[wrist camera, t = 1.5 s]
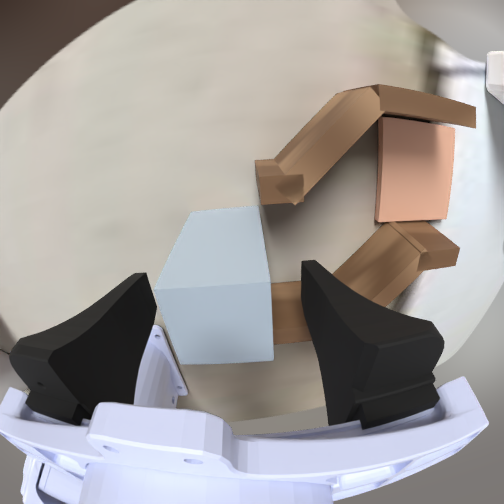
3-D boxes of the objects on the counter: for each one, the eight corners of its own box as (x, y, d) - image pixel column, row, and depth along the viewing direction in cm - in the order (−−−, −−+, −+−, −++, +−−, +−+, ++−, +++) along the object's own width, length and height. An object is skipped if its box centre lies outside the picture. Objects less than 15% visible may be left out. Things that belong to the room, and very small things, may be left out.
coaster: (441, 216, 17) (446, 219, 16) (374, 218, 17) (378, 222, 16) (449, 127, 13) (454, 128, 13) (378, 116, 14) (382, 116, 13)
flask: (41, 386, 27) (18, 439, 18) (15, 379, 27) (-7, 425, 18) (13, 351, 23) (-18, 406, 14) (-10, 346, 23) (-39, 392, 15)
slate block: (262, 264, 18) (273, 360, 11) (201, 269, 18) (180, 364, 11) (258, 205, 16) (270, 281, 9) (191, 211, 16) (153, 289, 9)
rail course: (410, 281, 19) (438, 316, 15) (264, 298, 19) (269, 344, 15) (429, 103, 13) (475, 107, 9) (249, 91, 13) (251, 79, 9)
